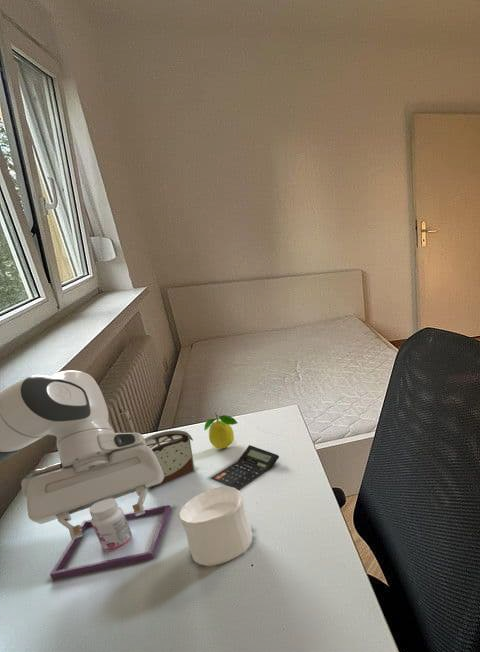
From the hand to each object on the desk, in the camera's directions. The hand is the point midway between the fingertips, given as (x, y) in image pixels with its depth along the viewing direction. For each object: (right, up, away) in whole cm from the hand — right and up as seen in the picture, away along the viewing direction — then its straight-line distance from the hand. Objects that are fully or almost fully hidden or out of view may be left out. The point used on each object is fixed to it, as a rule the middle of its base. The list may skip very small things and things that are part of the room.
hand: (109, 525), depth 77 cm
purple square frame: (0, -4, +2) cm, 5 cm away
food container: (-1, +3, +21) cm, 22 cm away
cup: (+20, -4, 0) cm, 21 cm away
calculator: (+16, +5, +21) cm, 27 cm away
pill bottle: (0, -4, +2) cm, 5 cm away
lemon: (+7, +8, +32) cm, 34 cm away
